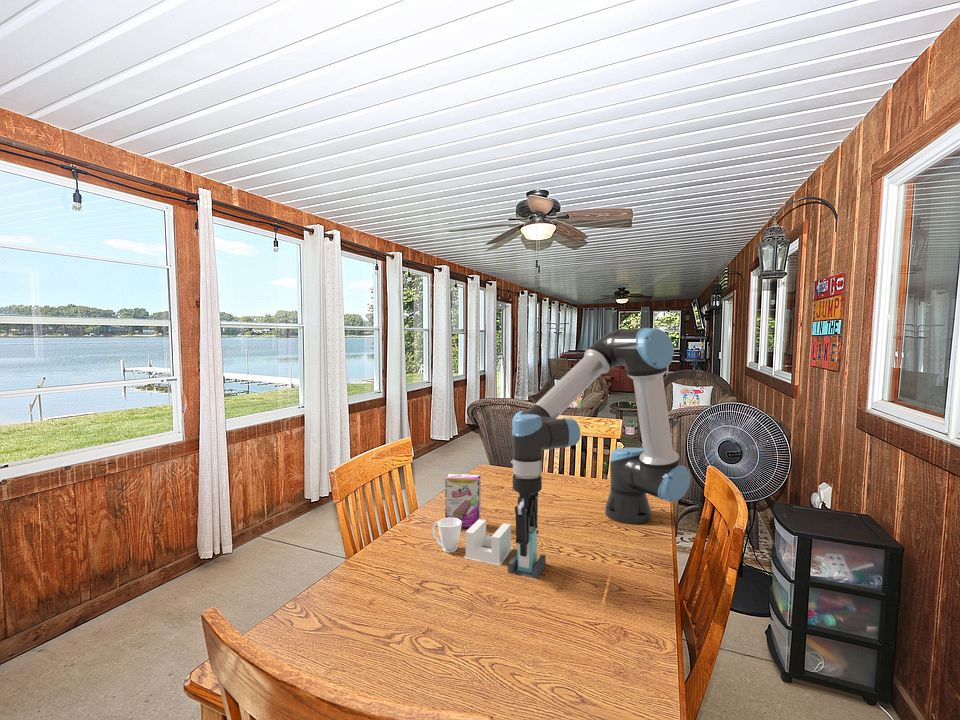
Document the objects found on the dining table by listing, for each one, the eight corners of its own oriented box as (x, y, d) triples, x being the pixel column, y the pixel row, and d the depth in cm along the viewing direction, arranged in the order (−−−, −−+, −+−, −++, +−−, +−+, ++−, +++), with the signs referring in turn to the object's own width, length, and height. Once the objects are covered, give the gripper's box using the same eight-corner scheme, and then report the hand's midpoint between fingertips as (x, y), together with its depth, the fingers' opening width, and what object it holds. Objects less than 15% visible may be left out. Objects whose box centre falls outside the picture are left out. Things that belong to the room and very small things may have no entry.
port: (513, 549, 127) (513, 523, 126) (500, 567, 117) (500, 539, 116) (478, 542, 131) (478, 517, 131) (462, 559, 121) (462, 532, 121)
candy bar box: (445, 528, 141) (444, 477, 141) (447, 521, 146) (447, 473, 146) (479, 529, 140) (479, 478, 140) (481, 522, 145) (480, 474, 145)
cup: (451, 557, 122) (451, 529, 122) (425, 547, 128) (424, 520, 128) (467, 547, 128) (466, 520, 127) (441, 538, 134) (440, 512, 133)
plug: (536, 565, 116) (536, 526, 116) (532, 573, 113) (532, 532, 112) (522, 562, 118) (522, 524, 117) (517, 570, 114) (517, 530, 114)
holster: (545, 565, 117) (545, 555, 117) (537, 581, 110) (537, 569, 110) (517, 560, 120) (517, 549, 120) (507, 574, 113) (507, 563, 113)
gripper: (523, 464, 123) (523, 545, 124) (502, 482, 108) (502, 575, 109) (549, 467, 120) (549, 550, 121) (531, 486, 105) (531, 582, 106)
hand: (527, 562), depth 115 cm, fingers closed on plug, 4 cm apart
